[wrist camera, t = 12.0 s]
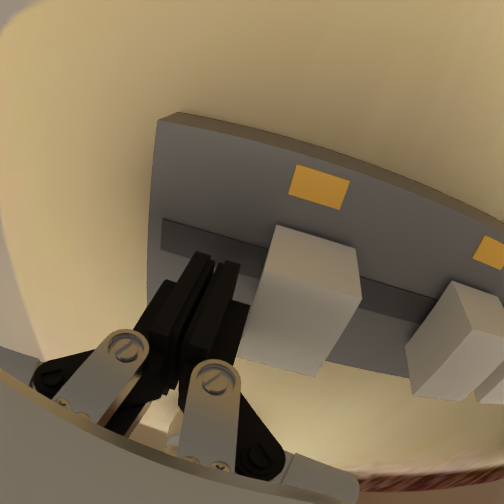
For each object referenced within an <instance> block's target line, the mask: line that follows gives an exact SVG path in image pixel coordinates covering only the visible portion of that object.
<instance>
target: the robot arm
mask: <svg viewBox="0 0 504 504" xmlns="http://www.w3.org/2000/svg"><path fill="white" fill-rule="evenodd" d="M240 266H241V264H239V263H235V262H232V261H228V260H226V261H225V263H221V262H219V263H218V265H217V267H216V269H215V272H214V267H215V261H214V260H211V255H208V254H205V253H201V252H198V251H196V252H195V253H194V255H193V256H192V258H191V260H190V261H189V263H188V265H187V266H186V268H185V269H184V271H183V273H182V274H181V276H180V278H179V279H178V281H177V282H174V281H171V280H167V279H166V280H164V281H163V283H162V284H161V286H160V287H159V289H158V290H157V292H156V294H155V295H154V297H153V298H152V300H151V301H150V303H149V305H148V306H147V308H146V309H145V311H144V313H143V314H142V316H141V317H140V319H139V321H138V322H137V324H136V326H135V327H134V329H133V330H130V329H121V330H117V331H114V332H112V333H111V334H110V335H108V336H107V337H106V338H105V339H104V340H103V342H102V343H101V344H100V345H99V346H98V347H97V348H96V349H94V350H90V351H86V352H82V353H78V354H74V355H70V356H66V357H62V358H58V359H54V360H50V361H47V362H40V360H39V359H38V358H35V357H32V356H28V355H25V354H22V353H19V352H15V351H13V350H10V349H7V348H4V347H1V346H0V504H356V501H357V498H358V495H359V483H358V480H357V479H356V478H355V477H354V476H353V475H352V474H350V473H348V472H346V471H343V470H340V469H337V468H334V467H331V466H329V465H326V464H323V463H321V462H318V461H315V460H313V459H310V458H308V457H305V456H303V455H300V454H298V453H295V454H292V453H289V452H287V451H285V450H283V449H282V447H281V445H280V444H279V443H278V441H277V440H276V439H275V438H274V436H273V435H272V434H271V432H270V431H269V430H268V429H267V427H266V426H265V425H264V423H263V422H262V421H261V419H260V418H259V417H258V415H257V414H256V413H255V411H254V410H253V408H252V407H251V406H250V404H249V403H248V402H247V400H246V399H245V398H244V396H243V395H242V393H241V392H240V391H241V379H240V375H239V373H238V371H237V370H236V369H235V368H234V367H233V364H234V361H235V357H236V354H237V351H238V347H239V344H240V340H241V337H242V333H243V330H244V326H245V323H246V320H247V316H248V313H249V309H250V306H251V305H248V304H245V303H242V302H238V301H235V300H232V299H233V295H234V291H235V287H236V283H237V278H238V274H239V270H240ZM213 273H214V274H213ZM178 381H179V389H178V392H179V398H178V405H179V407H180V409H181V411H182V412H183V414H184V416H183V421H182V427H181V432H180V438H179V444H178V450H177V455H176V457H175V456H172V455H170V454H167V453H164V452H161V451H158V450H156V449H153V448H150V447H148V446H145V445H143V444H140V443H138V442H135V441H133V440H130V439H128V438H129V436H130V435H131V433H132V432H133V430H134V429H135V427H136V426H137V424H138V423H139V422H140V420H141V419H142V417H143V416H144V414H145V413H146V411H147V410H148V408H149V407H150V405H151V402H152V401H153V400H156V399H159V398H161V395H162V394H163V395H166V396H167V393H168V391H169V389H173V390H175V388H176V386H177V384H178Z"/></svg>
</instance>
